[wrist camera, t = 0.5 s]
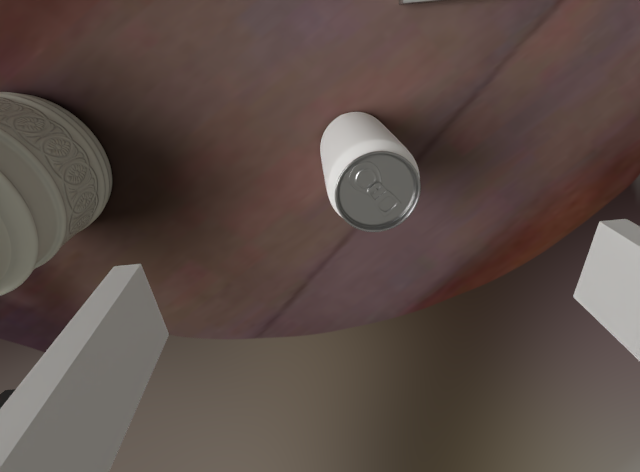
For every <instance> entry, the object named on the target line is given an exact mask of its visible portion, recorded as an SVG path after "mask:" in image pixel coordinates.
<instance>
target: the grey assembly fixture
mask: <svg viewBox="0 0 640 472" xmlns="http://www.w3.org/2000/svg"><path fill="white" fill-rule="evenodd" d="M432 1H442V0H399V4H410V3H421V2H432Z"/></svg>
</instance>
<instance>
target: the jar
mask: <svg viewBox="0 0 640 472" xmlns="http://www.w3.org/2000/svg"><path fill="white" fill-rule="evenodd" d="M111 190H112V172H111V167H110V163H109V160H108V158H107V155H106V153H105V151H104V149H103V147H102V145H101V144H100V142H99V141H98V139H97V138H96V137H95V135H94V134H93V133H92V132H91V130H90V129H89V128H88V127H87V126H86V125H85V124H84V123H83V122H82V121H80V120H79V119H78V118H77V117H76V116H74V115H73V114H72V113H70V112H69V111H67V110H66V109H64V108H62V107H61V106H59V105H57V104H55V103H53V102H50V101H48V100H46V99H43V98H40V97H36V96H32V95H27V94H18V93H12V92H0V295H3V294H6V293H8V292H10V291H12V290H14V289H16V288H17V287H18V286H20V285H21V284H22V283H23V282H24V281H25V280H26V279H27V278H28V277H29V276H30V274H31V273H32V271H33V269H35V268H37V267H39V266H41V265H43V264H45V263H46V262H47V261H49V260H50V259H51V258H52V257H53V256H54V255H55V254H56V253H57V252H58V250H59V249H60V247H61V246H62V245H63V244H65V243H66V242H67V241H68V240H69V239H70V238H72V237H73V236H74V235H75V234H76V233H78V232H80V231H82V230H83V229H85V228H86V227H88V226H89V225H90V224H91V223H92V222H93V221H95V220H96V219H97V218H98V216H99V215H100V214H101V213H102V211H103V209H104V207H105V205H106V203H107V202H108V200H109V197H110V194H111Z"/></svg>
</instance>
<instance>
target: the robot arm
mask: <svg viewBox="0 0 640 472" xmlns="http://www.w3.org/2000/svg"><path fill="white" fill-rule="evenodd" d="M573 297H574V298H575V299H576V300H577V301H578V302H579V303H580V304H581V305H582V306H583V307H584V308H585V309H586V310H587V311H589V313H591V315H593V316H594V317H595V318H596V319H597V320H598V321H599V322H600V323H601V324H602V325H603V326H604V327H605V328H606V329H607V330H608V331H609V332H610V333H611V334H612V335H613V336H614V337H615V338H616V339H617V340H618V341H619V342H621V343H622V344H623V345H624V346H625V347H626V348H627V349H628V350H629V351H630V352H631V353H632V354H633V355H634V356H635V357H636V358H637V359H638V360H639V361H640V227H639V226H637V225H636V224H634V223H632V222H631V221H629V220H627V219H620V220H609V221H600V222H599V224H598V227H597V230H596V233H595V236H594V239H593V242H592V245H591V247H590V250H589V253H588V256H587V259H586V261H585V264H584V267H583V270H582V273H581V276H580V279H579V282H578V285H577V287H576V290H575V293H574V296H573ZM168 335H169V333H168V331H167V328H166V326H165V323H164V321H163V318H162V316H161V313H160V311H159V308H158V306H157V303H156V301H155V298H154V296H153V293H152V290H151V288H150V285H149V283H148V280H147V278H146V275H145V273H144V270H143V268H142V265H141V264H133V265H123V266H114V267H113V268H112V270H111V271H110V272H109V273H108V275H107V276H106V277H105V278H104V280H103V281H102V282H101V283H100V285H99V286H98V287H97V288H96V290H95V291H94V292H93V293H92V295H91V296H90V297H89V298H88V300H87V301H86V302H85V303H84V305H83V306H82V307H81V308H80V310H79V311H78V312H77V313H76V315H75V316H74V317H73V318H72V320H71V321H70V322H69V323H68V325H67V326H66V327H65V328H64V330H63V331H62V332H61V333H60V335H59V336H58V337H57V338H56V340H55V341H54V342H53V343H52V345H51V346H50V347H49V348H48V350H47V351H46V352H45V353H44V355H43V356H42V357H41V358H40V360H39V361H38V362H37V364H36V365H35V366H34V367H33V369H32V370H31V371H30V372H29V373H28V375H27V376H26V377H25V378H24V380H23V381H22V382H21V384H20V385H19V386H18V387H17V389H16V390H5V391H4V392H3V393H1V394H0V472H109V470H110V468H111V466H112V463H113V461H114V459H115V457H116V454H117V452H118V450H119V448H120V445H121V443H122V441H123V438H124V436H125V434H126V431H127V429H128V427H129V425H130V422H131V420H132V418H133V415H134V413H135V411H136V409H137V406H138V404H139V401H140V399H141V397H142V395H143V393H144V390H145V388H146V386H147V383H148V381H149V379H150V377H151V374H152V372H153V370H154V367H155V365H156V363H157V360H158V358H159V356H160V354H161V351H162V349H163V347H164V344H165V342H166V340H167V338H168Z"/></svg>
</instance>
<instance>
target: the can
mask: <svg viewBox="0 0 640 472" xmlns="http://www.w3.org/2000/svg"><path fill="white" fill-rule="evenodd" d="M320 153H321V160H322V166H323V172H324V178H325V183H326V189H327V193H328V197H329V200H330V202H331V204H332V206H333V208H334V209H335V211H336V212H337V213H338V214H339V215H340V216H341V217H342V218H343V219H344V220H345V221H346V222H347V223H348V224H350V225H351V226H353V227H355V228H357V229H359V230H363V231H368V232H380V231H385V230H388V229H391V228H393V227H396V226H397V225H399V224H401V223H402V222H403V221H405V220H406V219H407V218H408V217H409V216H410V214H411V213H412V212H413V210H414V209H415V207H416V205H417V203H418V200H419V197H420V190H421V185H420V175H419V169H418V166H417V163H416V161H415V159H414V158H413V156H412V155H411V153H410V152H409V151H408V150H407V148H406V147H405V146H404V145H403V144H402V143H401V142H400V141H399V140H398V139H397V138H396V137H395V136H394V135H393V134H392V133H391V132H390V131H389V130H388V129H387V128H386V127H385V126H384V125H383V124H382V123H381V122H380V121H379V120H378V119H376V118H375V117H373V116H372V115H369V114H367V113H363V112H350V113H346V114H343V115H340V116H339V117H337V118H336V119H334V120H333V121H332V122H331V123H330V124H329V126H328V127H327V128H326V130H325V132H324V134H323V136H322V139H321V144H320Z"/></svg>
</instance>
